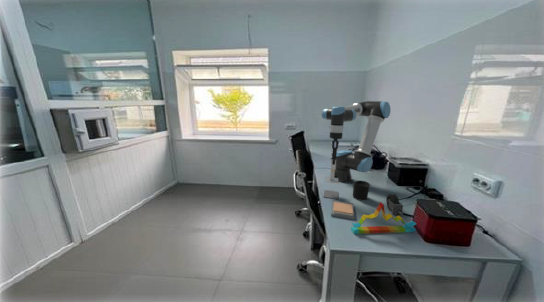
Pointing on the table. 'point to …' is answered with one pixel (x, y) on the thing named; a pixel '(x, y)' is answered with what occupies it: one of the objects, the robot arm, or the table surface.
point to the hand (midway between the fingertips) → (333, 168)
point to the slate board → (342, 214)
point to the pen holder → (360, 190)
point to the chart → (382, 229)
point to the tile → (343, 209)
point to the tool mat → (331, 194)
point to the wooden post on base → (332, 177)
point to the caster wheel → (394, 204)
